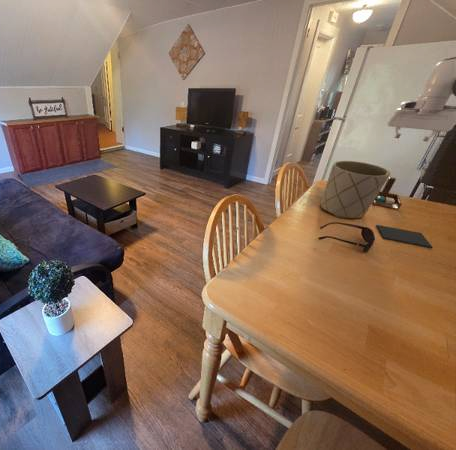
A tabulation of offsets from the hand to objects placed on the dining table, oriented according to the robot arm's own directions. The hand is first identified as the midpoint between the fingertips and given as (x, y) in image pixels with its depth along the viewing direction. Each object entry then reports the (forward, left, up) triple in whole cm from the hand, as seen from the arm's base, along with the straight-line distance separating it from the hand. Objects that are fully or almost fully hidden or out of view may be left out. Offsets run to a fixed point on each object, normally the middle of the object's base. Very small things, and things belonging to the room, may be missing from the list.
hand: (410, 139), depth 107 cm
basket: (-1, +4, -28) cm, 29 cm away
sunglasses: (+23, +51, -28) cm, 63 cm away
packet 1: (+1, +5, -28) cm, 28 cm away
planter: (+20, +24, -28) cm, 42 cm away
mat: (+2, +38, -28) cm, 48 cm away
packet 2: (-2, +6, -28) cm, 28 cm away
